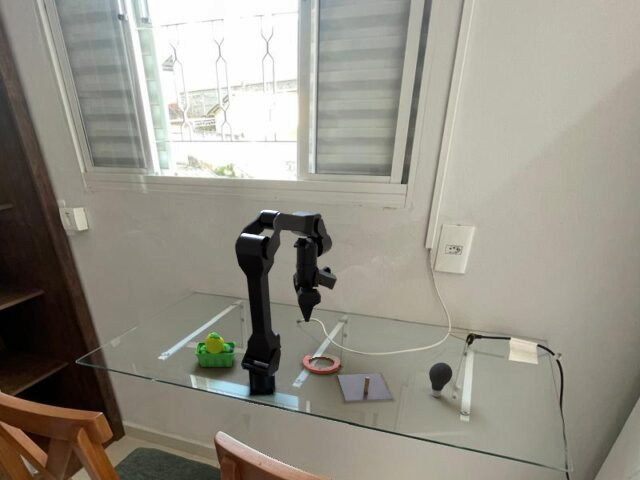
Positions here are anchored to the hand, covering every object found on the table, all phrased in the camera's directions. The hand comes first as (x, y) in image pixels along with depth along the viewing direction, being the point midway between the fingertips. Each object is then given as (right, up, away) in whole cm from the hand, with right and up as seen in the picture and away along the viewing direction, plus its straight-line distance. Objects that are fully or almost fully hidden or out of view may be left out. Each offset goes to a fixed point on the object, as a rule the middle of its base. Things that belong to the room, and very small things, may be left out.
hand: (305, 315), depth 123 cm
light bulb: (+34, -25, -13) cm, 44 cm away
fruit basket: (-27, -14, +1) cm, 30 cm away
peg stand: (+16, -22, -10) cm, 29 cm away
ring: (+5, -15, 0) cm, 16 cm away
